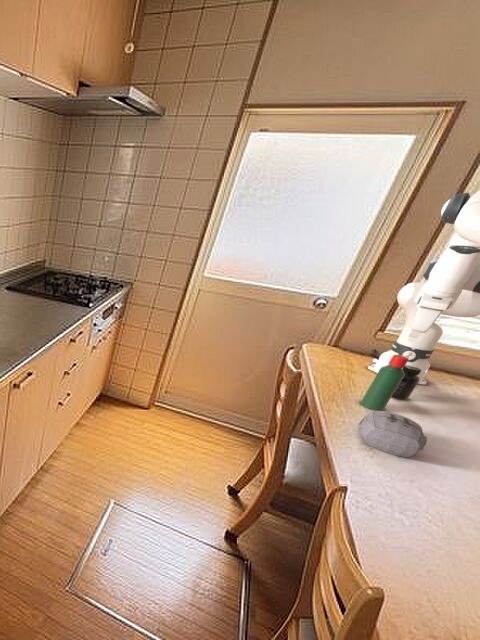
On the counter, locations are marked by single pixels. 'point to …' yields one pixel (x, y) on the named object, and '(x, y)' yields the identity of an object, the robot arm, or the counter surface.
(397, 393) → the supplement bottle
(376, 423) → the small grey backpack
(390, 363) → the cap
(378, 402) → the bottle
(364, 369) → the counter surface
